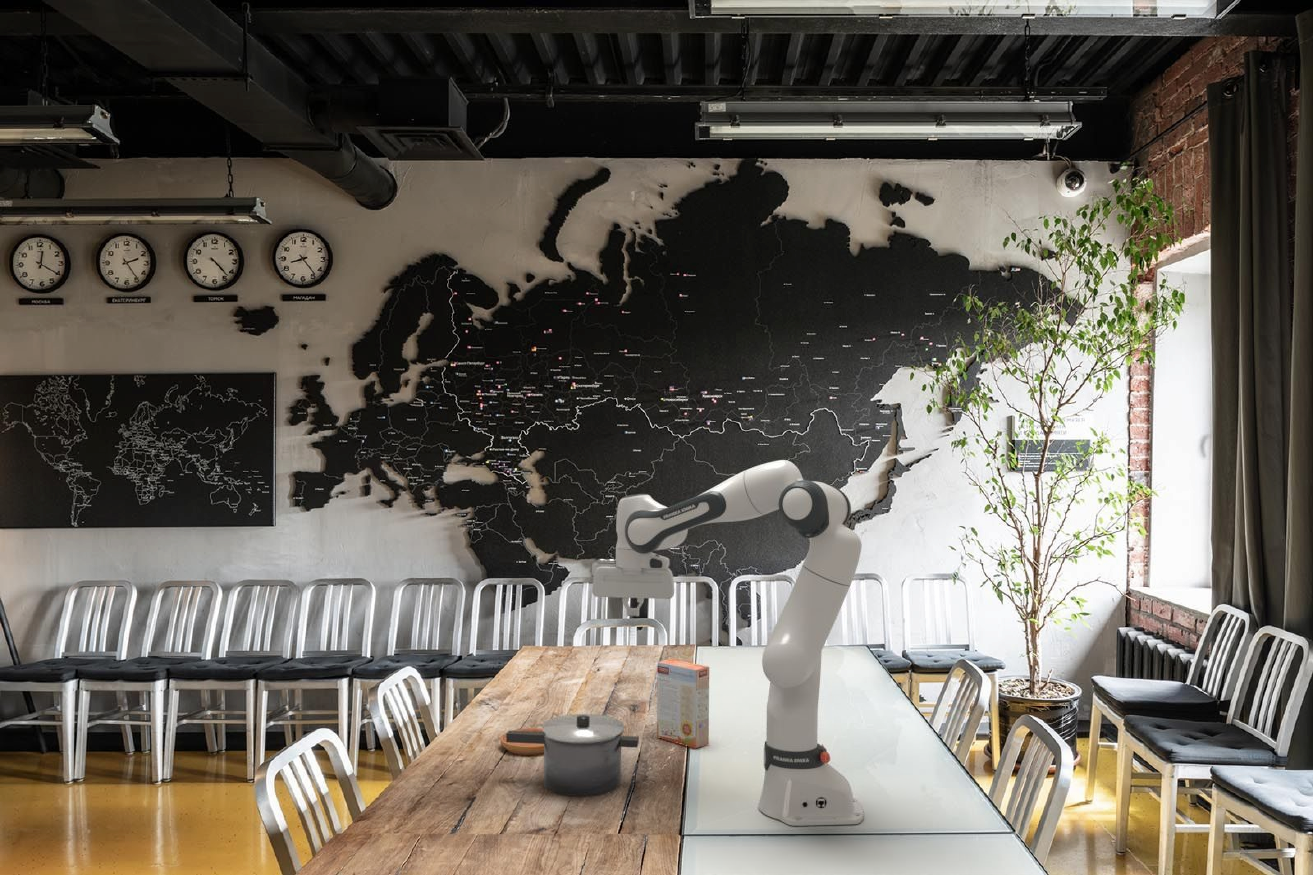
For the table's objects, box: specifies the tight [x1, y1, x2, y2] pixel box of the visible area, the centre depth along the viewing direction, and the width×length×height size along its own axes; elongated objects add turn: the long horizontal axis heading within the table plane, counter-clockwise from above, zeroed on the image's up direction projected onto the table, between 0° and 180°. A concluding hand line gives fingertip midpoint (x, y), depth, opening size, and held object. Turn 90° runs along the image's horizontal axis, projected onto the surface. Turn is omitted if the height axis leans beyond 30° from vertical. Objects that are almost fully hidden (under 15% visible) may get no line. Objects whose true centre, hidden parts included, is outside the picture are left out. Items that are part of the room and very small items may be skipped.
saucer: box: [499, 727, 544, 756], centre depth 244 cm, size 16×16×3 cm
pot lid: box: [541, 713, 625, 744], centre depth 218 cm, size 19×19×3 cm
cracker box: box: [656, 658, 710, 750], centre depth 250 cm, size 14×6×21 cm, turn 47°
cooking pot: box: [506, 730, 640, 798], centre depth 218 cm, size 31×18×12 cm, turn 84°
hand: (632, 615), depth 229 cm, fingers closed
